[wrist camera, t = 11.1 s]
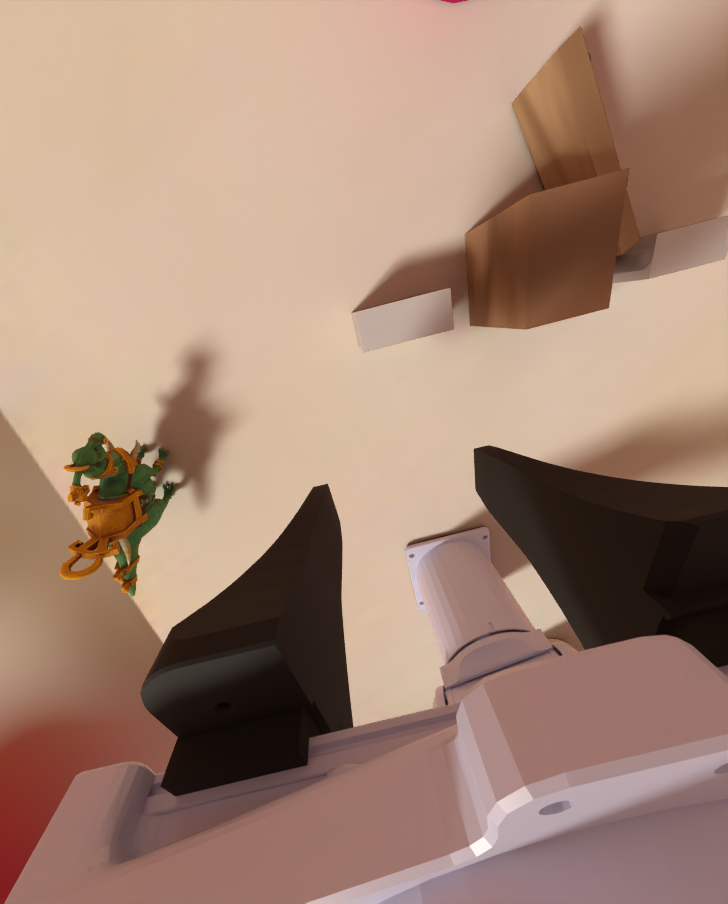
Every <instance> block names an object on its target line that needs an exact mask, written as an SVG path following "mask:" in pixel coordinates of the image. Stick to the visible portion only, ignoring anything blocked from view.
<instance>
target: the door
mask: <svg viewBox="0 0 728 904" xmlns="http://www.w3.org/2000/svg"><path fill="white" fill-rule="evenodd" d="M512 107H513V109H514V112H515V114H516V117H517V119H518V122H519V125H520V127H521V130H522V132H523V135H524V137H525V140H526V142H527V145H528V148H529V150H530V153H531V155H532V158H533V160H534V163H535V166H536V168H537V171H538V173H539V176H540V178H541V181H542V183H543V186H544V189H545V190H548V189H552V188H556V187H560V186H563V185H567V184H571V183H575V182H579V181H583V180H586V179H590V178H594V177H598V176H602V175H605V174H609V173H613V172H617V171H621V169H620V165H619V162H618V158H617V154H616V151H615V147H614V144H613V140H612V137H611V133H610V129H609V126H608V122H607V119H606V115H605V112H604V108H603V104H602V101H601V97H600V94H599V90H598V87H597V83H596V79H595V76H594V72H593V69H592V65H591V58H590V54H589V52H588V51H587V47H586V44H585V40H584V37H583V33H582V29H581V26H580V27H579V28H578V29H577V30H576V31H575V32H574V33H573V34H572V35H571V36H570V37H569V38H568V39H567V40H566V41H565V42H564V43H563V44H562V46H561V47H560V48H559V49H558V50H557V51H556V52H555V53H554V54H553V56H552V57H551V58H550V59H549V60H548V61H547V63H546V64H545V65H544V66H543V67H542V69H541V70H540V71H539V72H538V73H537V74H536V76H535V77H534V78H533V79H532V80H531V82H530V83H529V84H528V85H527V86H526V87H525V89H524V90H523V91H522V92H521V93H520V94H519V96H518V97H517V98H516V99H515V100H514V102H513V103H512ZM639 240H640V237H639V233H638V230H637V226H636V222H635V219H634V215H633V212H632V208H631V205H630V201H629V197H628V194H627V190H626V194H625V200H624V207H623V214H622V221H621V228H620V235H619V241H618V248H617V255H616V256H618V255H622V254H623V253H624V252H626V251H627V250H628V249H629V248H631V247H632V246H633V245H634V244H635V243H637V242H638V241H639Z"/></svg>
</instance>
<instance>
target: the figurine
mask: <svg viewBox="0 0 728 904" xmlns="http://www.w3.org/2000/svg"><path fill="white" fill-rule="evenodd" d="M102 444H106V448H107V452H105V450H104V448H103V447H102ZM139 450H140V452H139ZM144 453H145V448H144V447H143V446H141V447H140V443H139V442H138V441H137V440H136V445H135V447H134V449H133V450H132V451H131V453H130V454H129V453H128V452H127V451H126V450H124V449H123V448H118V447H117V448H114V446H113V445H112V443H111V442H110V441H109V440H108V439H107V438H106V437H105V436H104V435H103V434H101V433H99V432H98V433H94V434H92V435H91V436H90V438H88V443H87V444H86V446H85V447H82V448H80V449H77V450H75V451H74V452H73V453H72V461H73V463H74V464H70V465H66V466H65V467H64V468H63V469H65V470H67V471H70V472H75V474H74V479H73V484H72V485H71V486H70V488H71V490H70V494H69V495H68V501H69V502H74V501H75V503H74V504H75V505H77V506H80V504H81V503H80V502H83V501H84V507H85V508H83V520H87V522H88V527H87V529H86V530H87V532H88V534H89V536H90V537H91V539H90V540H88V541H87V542H86V543H84V544H83V542H81V541H79V540H78V541H76V542H74V543H73V544H71V545H70V546H68V547H67V548H68V549H69V551H70V552H71V553H73V554H75V556H74V557H72V558H71V559H70V560H68V561H67V562H65V563H64V564H63V565H62V567H61V569H60V575H61V577H63V578H64V579H67V580H74V579H80V578H83V577H86V576H88V575H90V574H91V573H93V572H94V571H96V570H97V569H98V568H99V567H100V566H101V565H102V561H103V558H105V557H110V556H113V555H114V557H115V558H116V560H117V563H116V566H115V570H116V573H115V574H114V575H113V579H114V580H115V581H117V582H122V586H121V589H122V591H123V592H124V593H127V592H129V593H130V595H131V596H132V597H133V596H134V595H135V591H136V581H137V574H136V568H137V563H138V562H139V558H140V556H139V555H138V547H139V544H140V541H141V538H142V537H143V536H144V535H146V534H147V533H148V532H149V531H150V530H151V529H152V528H153V527H155V526H156V525H157V523H158V522H159V520H160V518H161V516H162V513H163V512H164V509H165V508H166V507H167V504H168V502H169V499H171V498H172V497H171V496H172V494H173V492H174V491H175V488H176V485H173V487H172V485H170V484H169V485H168V488H167V486H166V485H165V484H163V488H164V497H163V499H155V491H156V487H155V485H154V483H153V481H152V480H151V478H150V477H151V476H155V477H156V475H157V473H158V472H159V471H160V470H161V468H162V466H163V464H164V462H163V461H164V459H165V458H166V457H167V455H168V454H169V451H166V452H165V454H164V453H163V449H162V448H159V459H158V460H156V461H155V463H154V464H153V468H151V467H149V466H148V465H146V464H141V460H142V458H143V457H144ZM82 474H84V476H85V477H87V478H89V479H92V480H94V479H100V486H94V487H93V490H92V493H91V494H90V495H89V496H88V497H87V494H88V493H89V492H90V489H89V486H88V485H84V486H81V484H80V479H81V476H82ZM171 487H172V489H171ZM108 547H109V549H108ZM94 550H95V551H94ZM80 558H83V559H88V560H94V559H96V560H95V562H94V563H93V564H92V565H91V566H90V567H88V568H86V569H85V570H82V571H76V572H74V571H71V567H72V566H73V565H74V564H75V563H76V562H77V561H78V560H79V559H80ZM123 575H124V576H125V578H124V576H123Z"/></svg>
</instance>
